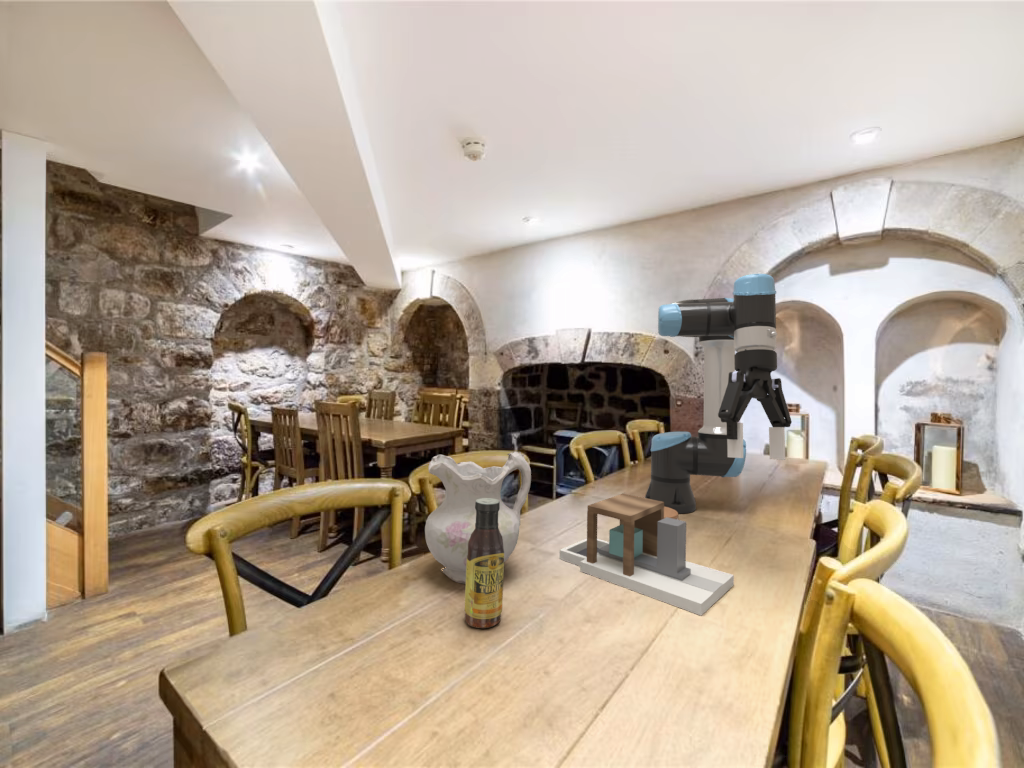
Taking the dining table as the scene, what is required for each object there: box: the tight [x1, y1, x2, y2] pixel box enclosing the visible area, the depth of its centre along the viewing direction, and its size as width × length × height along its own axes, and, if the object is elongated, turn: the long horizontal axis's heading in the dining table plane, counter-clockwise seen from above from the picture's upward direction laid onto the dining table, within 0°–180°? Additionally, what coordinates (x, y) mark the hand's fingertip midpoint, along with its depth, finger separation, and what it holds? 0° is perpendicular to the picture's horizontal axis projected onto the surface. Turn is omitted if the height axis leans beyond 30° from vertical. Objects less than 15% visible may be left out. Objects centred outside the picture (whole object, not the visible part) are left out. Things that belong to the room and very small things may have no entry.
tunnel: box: [586, 493, 664, 577], centre depth 96 cm, size 14×10×12 cm
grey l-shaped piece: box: [598, 517, 691, 580], centre depth 93 cm, size 4×18×10 cm, turn 46°
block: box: [608, 524, 643, 558], centre depth 96 cm, size 5×5×5 cm
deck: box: [559, 537, 735, 616], centre depth 94 cm, size 16×32×2 cm, turn 46°
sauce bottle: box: [464, 498, 505, 629], centre depth 75 cm, size 6×6×20 cm
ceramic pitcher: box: [424, 450, 532, 585], centre depth 94 cm, size 22×20×25 cm
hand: (757, 458), depth 88 cm, fingers open, 13 cm apart
